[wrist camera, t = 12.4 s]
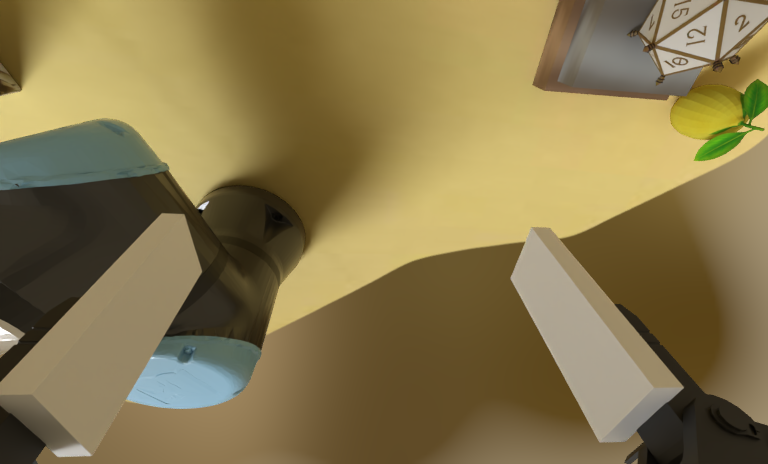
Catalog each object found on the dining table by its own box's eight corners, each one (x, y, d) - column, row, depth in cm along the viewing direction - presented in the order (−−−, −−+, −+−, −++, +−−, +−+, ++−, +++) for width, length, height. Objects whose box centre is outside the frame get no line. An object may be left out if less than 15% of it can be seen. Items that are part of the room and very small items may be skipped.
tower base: (647, 94, 38) (689, 107, 33) (532, 84, 37) (558, 97, 32) (729, -67, 30) (800, -81, 25) (586, -86, 29) (631, -104, 24)
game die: (655, -2, 31) (829, -46, 23) (631, 94, 33) (784, 84, 25) (620, -42, 25) (831, -117, 18) (594, 76, 27) (773, 55, 20)
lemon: (649, 139, 41) (720, 173, 33) (648, 96, 38) (726, 121, 30) (708, 114, 40) (797, 143, 32) (712, 67, 37) (812, 85, 29)
